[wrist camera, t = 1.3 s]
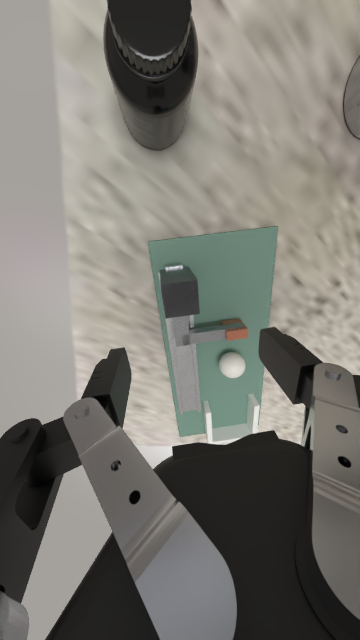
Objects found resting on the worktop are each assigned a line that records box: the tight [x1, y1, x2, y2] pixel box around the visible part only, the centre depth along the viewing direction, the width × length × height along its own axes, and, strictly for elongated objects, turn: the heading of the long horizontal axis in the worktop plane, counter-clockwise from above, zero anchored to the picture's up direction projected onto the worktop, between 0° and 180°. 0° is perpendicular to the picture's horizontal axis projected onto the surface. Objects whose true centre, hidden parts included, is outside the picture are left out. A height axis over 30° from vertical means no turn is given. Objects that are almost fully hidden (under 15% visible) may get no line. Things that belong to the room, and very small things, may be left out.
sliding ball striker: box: [160, 263, 248, 347], centre depth 26 cm, size 12×12×10 cm
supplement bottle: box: [103, 0, 198, 149], centre depth 17 cm, size 7×7×12 cm
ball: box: [219, 352, 245, 378], centre depth 35 cm, size 4×4×4 cm
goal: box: [203, 394, 260, 444], centre depth 42 cm, size 10×10×3 cm
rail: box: [158, 271, 201, 415], centre depth 34 cm, size 4×28×2 cm, turn 6°
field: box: [148, 226, 278, 437], centre depth 37 cm, size 18×41×1 cm, turn 6°
